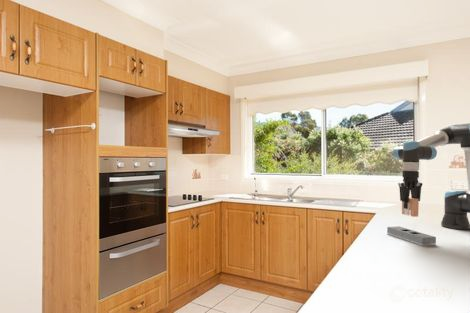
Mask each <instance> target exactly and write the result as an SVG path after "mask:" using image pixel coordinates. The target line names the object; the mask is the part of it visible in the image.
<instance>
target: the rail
mask: <svg viewBox="0 0 470 313" xmlns="http://www.w3.org/2000/svg"><path fill="white" fill-rule="evenodd" d="M387 235H389V236H392V237H395V238H398V239H400V240H403V241H406V242H410V243H413V244H415V245H418V246H421V247H429V246H431V247H432V246H437V237H436V236H434V235H430V234H426V233H423V232H419V231H416V230H413V229H409V228H406V227H403V226H387Z"/></svg>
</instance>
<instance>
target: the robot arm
mask: <svg viewBox="0 0 470 313" xmlns="http://www.w3.org/2000/svg"><path fill="white" fill-rule="evenodd" d="M456 144H457V145H458V144H459V145H460V148H461V149H462V150H463V151H464V159H465V168H466V175H467V183H468V184H467V185H468V189H467V190H450V191H445V193H444V196H443V199H444V214H443V217H442V220H441V222H440V226H441V227H443V228H446V229H452V230H459V231H462V230H463V231H466V230H467V231H468V230H470V221H469V217H468V213H469V214H470V123H463V124H462V123H461V124H454V125H449V126H447V127H444V128H441V129H439V130H436V131H435V132H434V133H433V134H431V135H428V136H426V137H423V138H421V139H419V140H414V141H413V140H411V141H410V140H409V141H407V140H406V141H404V142H403V144H402V145H401V146H396V147H394V148H393V149H392V156H393V157H394V159H396V160H401V161H402V175H401V176H402V177H401V178H403V179H402V181H401V182H398V184H397V185H398V187H399V200H400V202H401V203H402V202H404V208H405V209H404V214H405V216H411V210H410V203H408V201H409V198H414V199H419V202H420V201H421V193H422V187H423V182H419V180H418V179H419V178H420V171H419V170H420V160H423V161H424V160H426V161H429V160H434V159H435V158H437V155H438V152H437V151H438V150H437V149H436V147H439V146H446V145H456ZM404 214H403V215H404Z"/></svg>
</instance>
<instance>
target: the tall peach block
mask: <svg viewBox="0 0 470 313" xmlns="http://www.w3.org/2000/svg"><path fill="white" fill-rule="evenodd" d="M408 203H410V210H411V214H410V217H412V218H414V217H419V207H420V206H419V204H420V201H419V199H414V198H411V197H409V201H408ZM404 209H405V208H404V202H402V201H401V214H402V215H405V214H404ZM405 216H406V215H405Z"/></svg>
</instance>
